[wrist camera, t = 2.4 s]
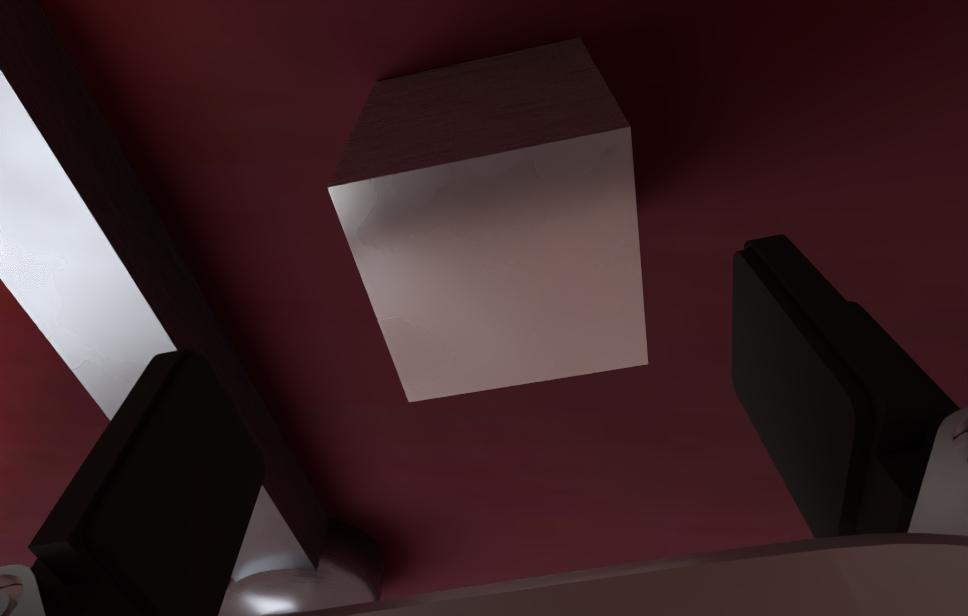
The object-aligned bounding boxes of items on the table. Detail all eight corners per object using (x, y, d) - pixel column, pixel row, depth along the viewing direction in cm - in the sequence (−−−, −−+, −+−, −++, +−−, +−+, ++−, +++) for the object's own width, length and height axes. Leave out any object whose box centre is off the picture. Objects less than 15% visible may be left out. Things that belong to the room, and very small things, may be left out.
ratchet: (-145, 33, 15) (-492, 133, 9) (91, -25, 14) (-143, 47, 9) (275, 603, 29) (229, 770, 24) (401, 587, 28) (383, 756, 23)
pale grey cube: (374, 82, 15) (327, 187, 11) (580, 37, 15) (630, 127, 10) (426, 255, 18) (408, 401, 13) (600, 223, 18) (648, 363, 13)
